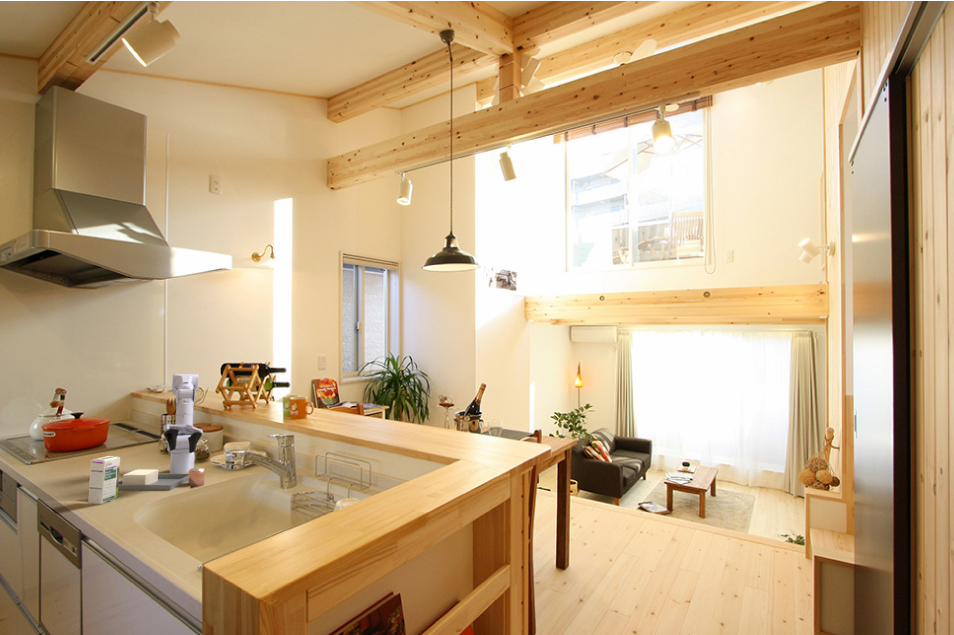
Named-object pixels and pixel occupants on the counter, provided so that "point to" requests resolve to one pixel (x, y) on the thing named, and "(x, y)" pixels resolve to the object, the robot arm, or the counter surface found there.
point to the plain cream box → (140, 477)
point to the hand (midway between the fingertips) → (182, 450)
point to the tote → (158, 482)
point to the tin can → (196, 477)
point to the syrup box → (104, 479)
